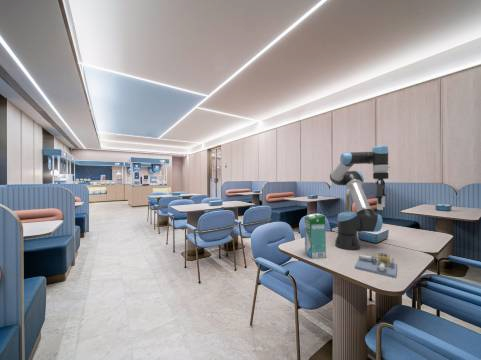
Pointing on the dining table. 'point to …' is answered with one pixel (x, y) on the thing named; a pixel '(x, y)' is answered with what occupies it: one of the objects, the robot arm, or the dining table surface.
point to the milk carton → (315, 236)
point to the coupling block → (384, 259)
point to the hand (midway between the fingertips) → (381, 208)
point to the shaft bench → (376, 266)
